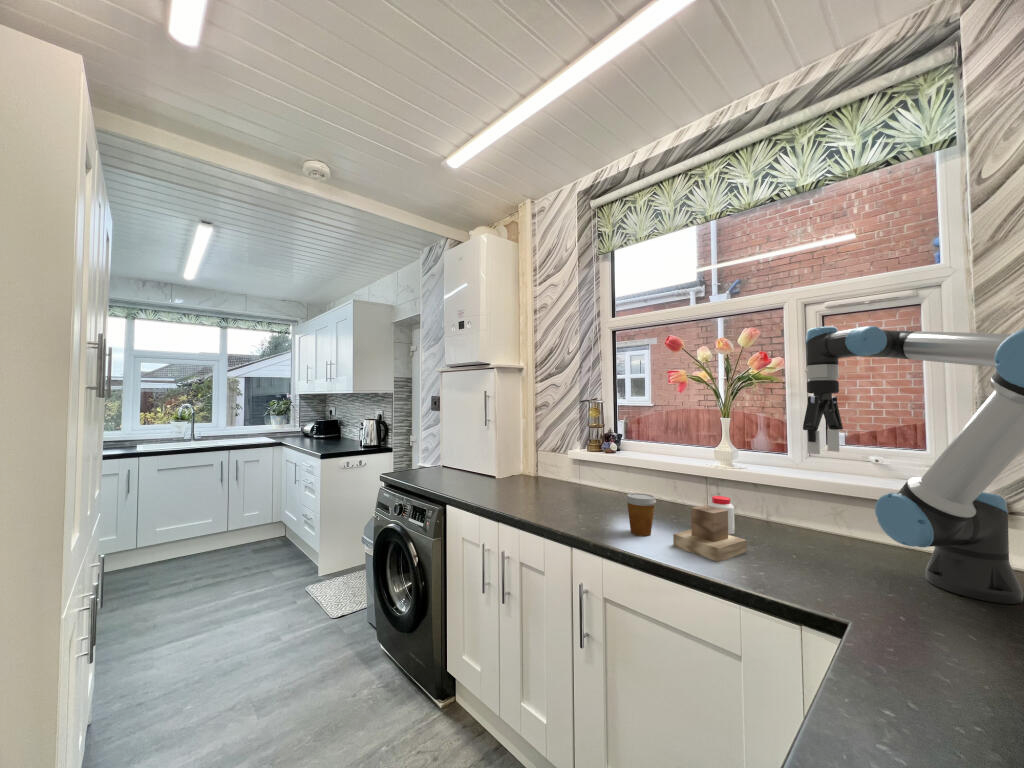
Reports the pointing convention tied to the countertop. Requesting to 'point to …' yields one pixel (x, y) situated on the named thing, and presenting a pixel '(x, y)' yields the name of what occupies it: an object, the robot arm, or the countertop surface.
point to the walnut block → (709, 523)
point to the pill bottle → (726, 505)
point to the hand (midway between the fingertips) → (823, 452)
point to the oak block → (710, 546)
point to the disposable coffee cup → (640, 513)
